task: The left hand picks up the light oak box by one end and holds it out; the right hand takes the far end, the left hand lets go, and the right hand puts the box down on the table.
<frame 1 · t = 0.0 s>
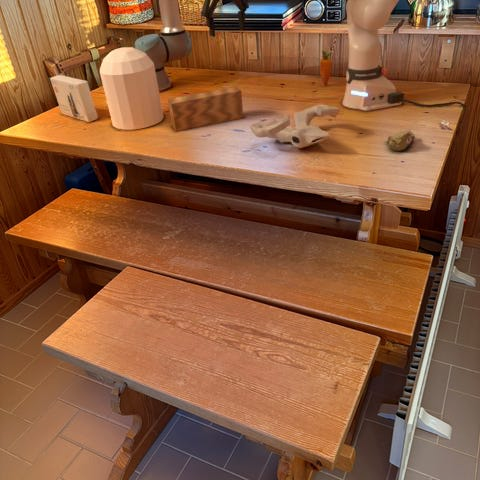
left hand: (227, 32, 179), 28 cm above the table, tool pointing down, fingers open, 13 cm apart
container: (138, 120, 188), on the table
carrot: (325, 85, 205), on the table
rock: (401, 146, 148), on the table
skincare box: (79, 117, 198), on the table
beige branched piece: (302, 145, 155), on the table
box: (208, 121, 180), on the table
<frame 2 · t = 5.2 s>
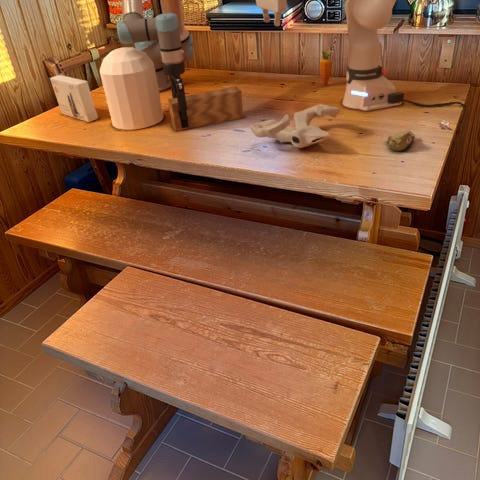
left hand: (183, 124, 177), 1 cm above the table, tool pointing down, fingers closed on box, 6 cm apart
right hand: (271, 23, 164), 32 cm above the table, tool pointing down, fingers open, 8 cm apart
box: (208, 121, 180), on the table, touching left hand
everything else where it was.
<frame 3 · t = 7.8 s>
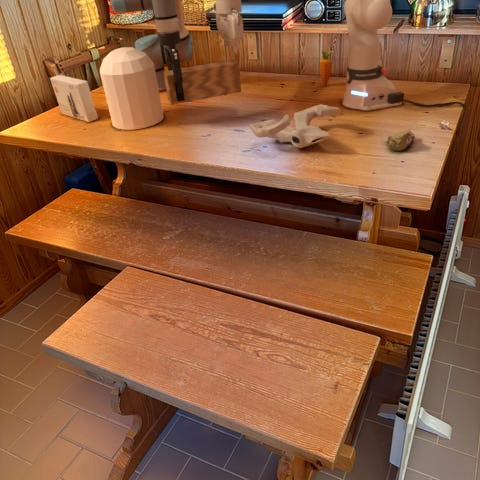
left hand: (178, 98, 172), 11 cm above the table, tool pointing down, fingers closed on box, 6 cm apart
right hand: (231, 48, 168), 25 cm above the table, tool pointing down, fingers open, 8 cm apart
box: (204, 96, 175), point 10 cm above the table, touching left hand
everything else where it was.
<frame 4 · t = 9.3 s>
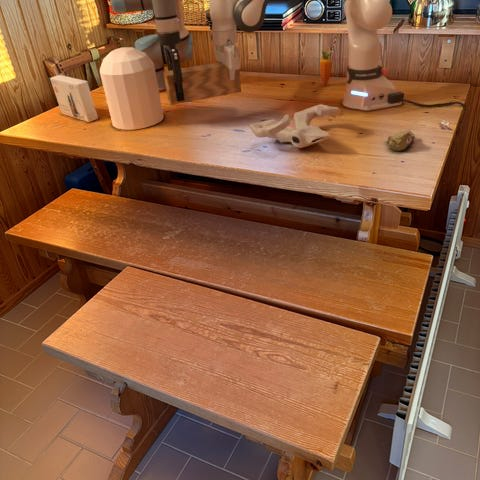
left hand: (178, 98, 172), 11 cm above the table, tool pointing down, fingers closed on box, 6 cm apart
right hand: (228, 77, 174), 15 cm above the table, tool pointing down, fingers closed on box, 6 cm apart
box: (204, 96, 174), point 10 cm above the table, touching left hand, right hand
everything else where it was.
when the left hand's fingers open (11 cm above the table, at t = 10.4 s): box stays where it is, held by the right hand.
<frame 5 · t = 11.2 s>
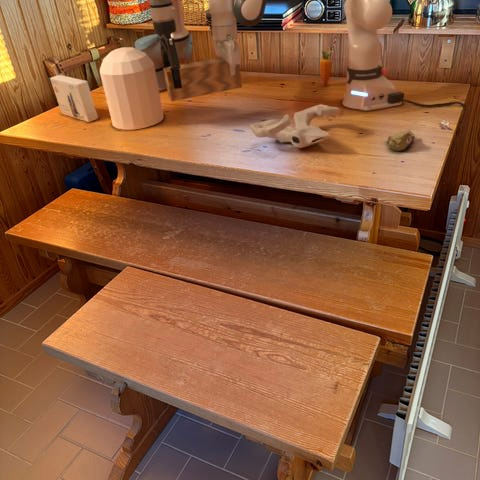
left hand: (173, 83, 169), 17 cm above the table, tool pointing down, fingers open, 13 cm apart
right hand: (229, 72, 173), 17 cm above the table, tool pointing down, fingers closed on box, 6 cm apart
box: (205, 92, 174), point 12 cm above the table, touching right hand
everything else where it was.
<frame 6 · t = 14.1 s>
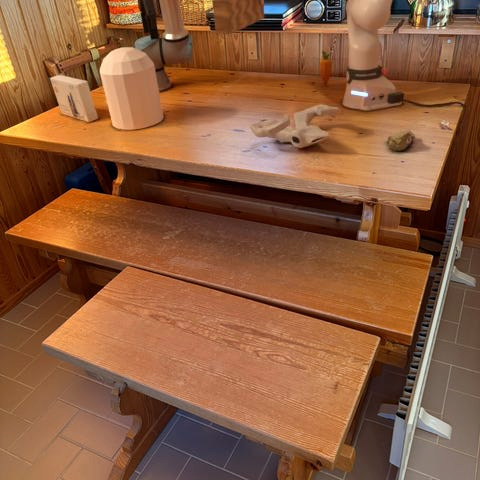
left hand: (151, 35, 158), 34 cm above the table, tool pointing down, fingers open, 13 cm apart
right hand: (252, 4, 176), 37 cm above the table, tool pointing down, fingers closed on box, 6 cm apart
box: (241, 25, 172), point 31 cm above the table, touching right hand
everything else where it was.
when the right hand's fingers open (7 cm above the table, at t = 18.9 s): box stays where it is, on the table.
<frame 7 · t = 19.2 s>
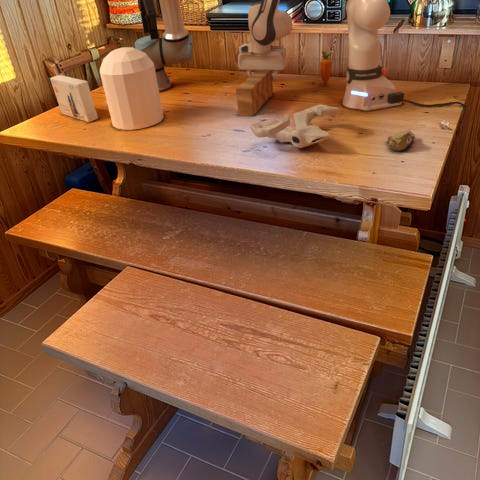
left hand: (151, 35, 158), 34 cm above the table, tool pointing down, fingers open, 13 cm apart
right hand: (262, 80, 196), 7 cm above the table, tool pointing down, fingers open, 8 cm apart
box: (256, 104, 193), on the table
everything else where it was.
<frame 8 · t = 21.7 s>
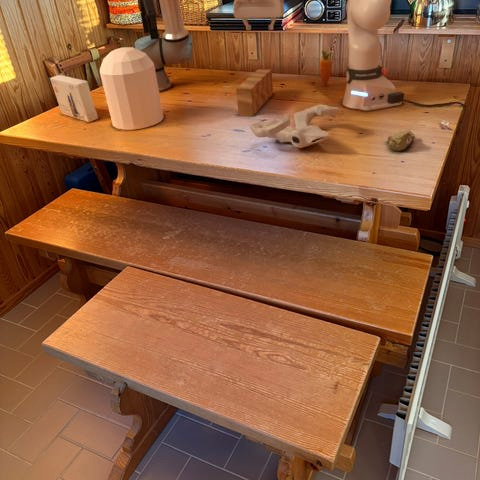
left hand: (151, 35, 158), 34 cm above the table, tool pointing down, fingers open, 13 cm apart
right hand: (259, 30, 185), 27 cm above the table, tool pointing down, fingers open, 8 cm apart
nothing on the table moved.
at the end: box inside the target area (9.8 cm from its centre), on the table; the left hand is holding nothing; the right hand is holding nothing; box at rest at the end (0.0 cm/s) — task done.
